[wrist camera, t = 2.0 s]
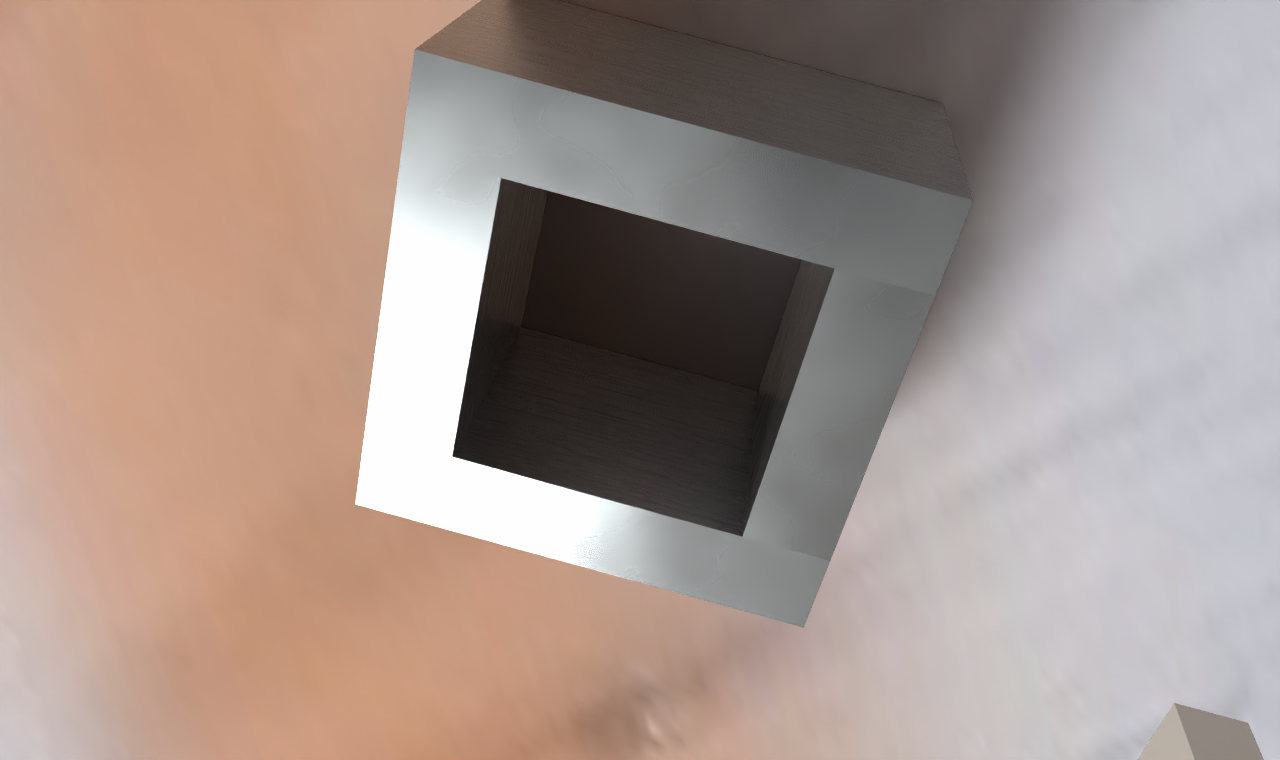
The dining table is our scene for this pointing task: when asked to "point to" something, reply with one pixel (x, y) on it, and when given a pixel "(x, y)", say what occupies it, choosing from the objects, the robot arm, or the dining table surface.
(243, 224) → the dining table surface
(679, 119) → the grey square hollow block
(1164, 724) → the robot arm
